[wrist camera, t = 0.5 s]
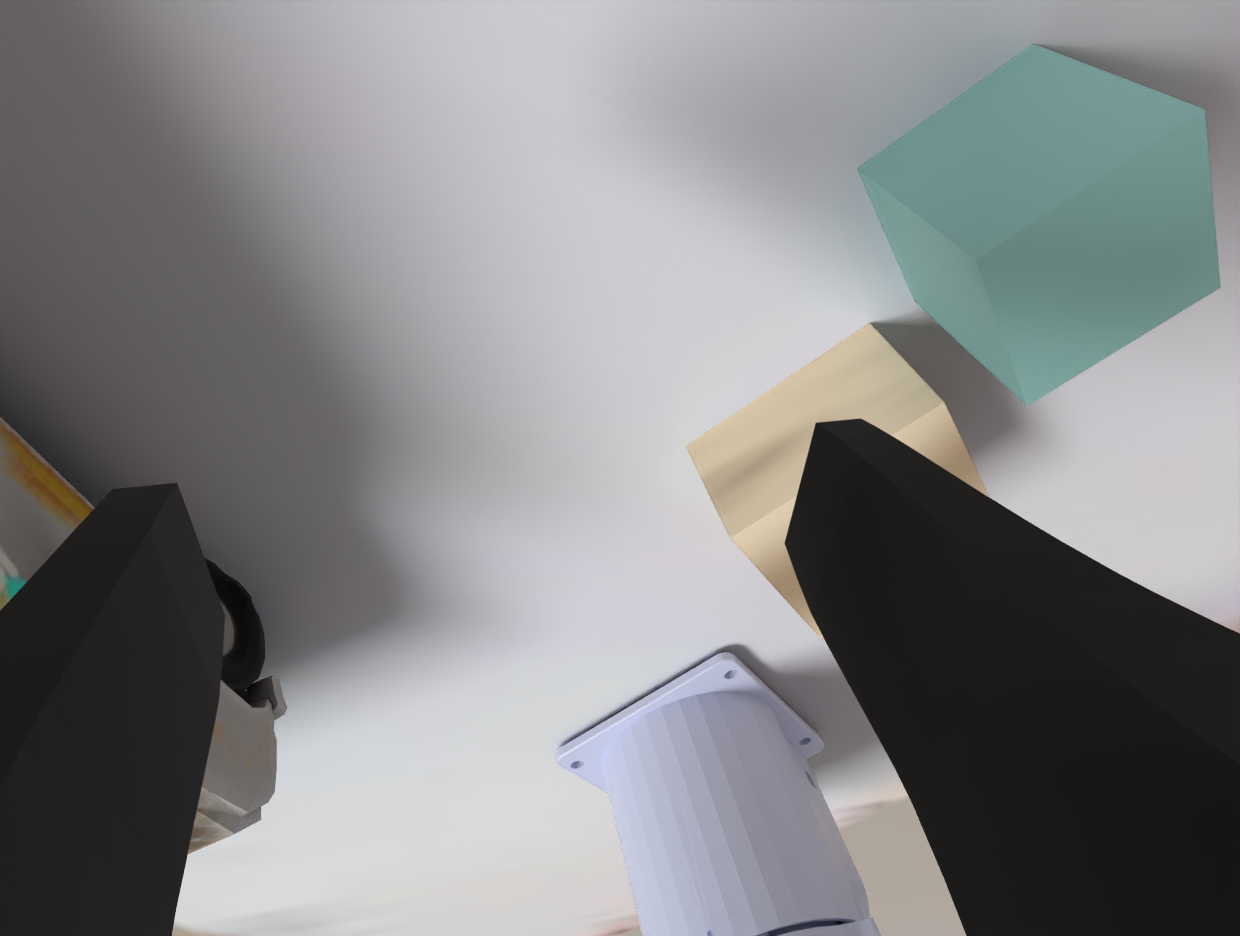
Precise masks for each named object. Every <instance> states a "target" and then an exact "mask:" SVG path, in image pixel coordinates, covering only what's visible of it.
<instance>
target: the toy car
mask: <svg viewBox="0 0 1240 936" xmlns="http://www.w3.org/2000/svg"><path fill="white" fill-rule="evenodd" d="M94 508H95V507H94V506H93V505H92V504H91V503H90V502H89V501H88V500H87V499H86V498H85V497H84V496H83V495H82V494H80V493H79V492H78V491H77V490H76V489H75V488H74V487H73V486H72V485H71V484H70V483H69V482H68V481H67V480H66V479H65V478H64V477H63V476H62V475H60V474H59V473H58V472H57V471H56V470H55V469H54V468H53V467H52V466H51V465H50V464H49V463H48V462H47V461H46V460H45V459H44V458H43V457H42V456H41V455H40V454H39V453H37V452H36V451H35V450H34V449H33V448H32V447H31V446H30V445H29V444H28V443H27V442H26V441H25V440H24V439H23V438H22V437H21V436H20V435H19V434H18V433H17V432H16V431H15V430H14V429H13V428H11V427H10V426H9V425H8V424H7V423H6V422H5V421H4V420H3V419H2V418H1V417H0V610H1V609H2V608H3V607H4V606H5V605H6V604H7V603H8V602H9V600H10V599H11V598H12V597H13V596H14V595H15V594H16V593H17V592H18V591H19V590H20V589H21V588H22V587H23V585H24V584H25V583H26V582H27V581H28V580H29V579H30V578H31V577H32V576H33V575H34V573H35V572H36V571H37V570H38V569H39V568H40V567H41V566H42V565H43V564H44V563H45V561H46V560H47V559H48V558H49V557H50V556H51V555H52V554H53V553H54V552H55V551H56V549H57V548H58V547H59V546H60V545H61V544H62V543H63V542H64V541H65V540H66V538H67V537H68V536H69V535H70V534H71V533H72V532H73V531H74V530H75V529H76V528H77V526H78V525H79V524H80V523H81V522H82V521H83V520H84V519H85V518H86V517H87V516H88V515H89V513H90V512H91V511H92V510H93V509H94ZM204 559H205V558H204ZM205 561H206V564H207V567H208V570H209V572H210V575H211V578H212V581H213V584H214V586H215V589H216V592H217V595H218V597H219V600H220V603H221V606H222V608H223V611H224V614H225V626H224V642H223V659H222V672H221V684H220V696H219V704H218V710H217V715H216V720H215V725H214V730H213V735H212V740H211V745H210V750H209V755H208V759H207V764H206V769H205V774H204V779H203V784H202V788H201V793H200V798H199V803H198V807H197V812H196V817H195V821H194V826H193V831H192V836H191V840H190V845H189V850H188V854H189V853H192V852H194V851H196V850H199V849H201V848H203V847H206V846H208V845H210V844H213V843H215V842H217V841H219V840H222V839H224V838H226V837H229V836H231V835H233V834H235V833H237V832H239V831H241V830H243V829H245V828H246V827H248V826H250V825H252V824H254V823H256V822H258V821H259V820H261V806H263V805H264V804H266V803H268V802H269V800H270V798H271V797H272V795H273V794H274V792H275V782H276V768H277V740H276V737H275V733H274V720H276V719H278V718H279V717H281V716H282V715H284V714H285V712H286V709H287V706H286V703H285V701H284V698H283V695H282V690H281V686H280V681H279V679H277V678H275V677H273V676H269V677H267V678H265V679H262V680H260V681H258V682H255V681H256V680H257V679H258V678H259V676H260V673H261V670H262V666H263V663H264V660H265V640H264V632H263V628H262V625H261V622H260V618H259V615H258V614H257V612H256V610H255V608H254V606H253V603H252V599H251V596H250V595H249V593H248V592H247V591H246V590H245V589H244V587H243V586H242V585H241V584H240V583H239V582H238V581H236V580H234V579H233V578H231V577H229V576H228V575H226V574H225V573H224V572H222V571H221V570H220V569H219V568H218V567H217V566H216V565H215V564H214V563H212V562H211V561H209V560H207V559H205ZM253 682H255V683H253ZM252 683H253V684H252ZM246 689H247V691H245V690H246Z"/></svg>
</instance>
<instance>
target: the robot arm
mask: <svg viewBox="0 0 1240 936" xmlns="http://www.w3.org/2000/svg"><path fill="white" fill-rule="evenodd" d="M785 546H786V549H787V552H788V555H789V557H790V560H791V563H792V566H793V569H794V571H795V574H796V577H797V580H798V582H799V585H800V587H801V590H802V592H803V595H804V597H805V600H806V602H807V605H808V607H809V610H810V613H811V614H812V616H813V618H814V620H815V622H816V624H817V626H818V628H819V630H820V632H821V634H822V635H823V637H824V639H825V641H826V643H827V645H828V647H829V649H830V650H831V652H832V654H833V656H834V658H835V660H836V662H837V663H838V665H839V667H840V669H841V671H842V673H843V674H844V676H845V678H846V680H847V682H848V684H849V685H850V687H851V689H852V691H853V693H854V694H855V696H856V698H857V700H858V702H859V704H860V705H861V707H862V709H863V711H864V713H865V714H866V716H867V718H868V720H869V722H870V724H871V725H872V727H873V729H874V731H875V733H876V734H877V736H878V738H879V740H880V742H881V744H882V745H883V747H884V749H885V751H886V753H887V754H888V756H889V758H890V760H891V762H892V764H893V765H894V767H895V769H896V771H897V773H898V775H899V777H900V779H901V781H902V783H903V786H904V788H905V790H906V792H907V794H908V796H909V798H910V800H911V802H912V804H913V806H914V809H915V811H916V813H917V816H918V818H919V820H920V823H921V825H922V827H923V830H924V832H925V835H926V837H927V839H928V842H929V844H930V846H931V849H932V851H933V853H934V856H935V858H936V860H937V863H938V865H939V867H940V870H941V872H942V874H943V876H944V879H945V882H946V884H947V887H948V890H949V892H950V895H951V897H952V900H953V902H954V905H955V907H956V910H957V912H958V915H959V918H960V920H961V922H962V925H963V928H964V930H965V933H966V935H967V936H1240V633H1237V632H1235V631H1233V630H1231V629H1228V628H1226V627H1224V626H1222V625H1220V624H1218V623H1216V622H1214V621H1212V620H1210V619H1208V618H1206V617H1203V616H1201V615H1199V614H1197V613H1195V612H1193V611H1191V610H1189V609H1187V608H1185V607H1183V606H1181V605H1179V604H1177V603H1175V602H1173V601H1171V600H1169V599H1167V598H1165V597H1163V596H1161V595H1159V594H1156V593H1154V592H1152V591H1150V590H1149V589H1147V588H1145V587H1143V586H1141V585H1139V584H1137V583H1135V582H1133V581H1131V580H1130V579H1128V578H1126V577H1124V576H1122V575H1120V574H1118V573H1116V572H1115V571H1113V570H1111V569H1109V568H1107V567H1106V566H1104V565H1102V564H1100V563H1099V562H1097V561H1095V560H1093V559H1092V558H1090V557H1088V556H1086V555H1084V554H1083V553H1081V552H1079V551H1077V550H1076V549H1074V548H1072V547H1070V546H1069V545H1067V544H1065V543H1063V542H1061V541H1060V540H1058V539H1056V538H1055V537H1053V536H1051V535H1050V534H1048V533H1046V532H1045V531H1043V530H1041V529H1040V528H1038V527H1036V526H1035V525H1033V524H1031V523H1030V522H1028V521H1026V520H1025V519H1023V518H1021V517H1020V516H1018V515H1017V514H1015V513H1013V512H1012V511H1010V510H1008V509H1007V508H1005V507H1004V506H1002V505H1000V504H999V503H997V502H996V501H994V500H992V499H991V498H989V497H988V496H986V495H984V494H983V493H981V492H980V491H978V490H977V489H975V488H973V487H972V486H970V485H969V484H967V483H966V482H964V481H962V480H961V479H959V478H958V477H956V476H955V475H953V474H952V473H950V472H948V471H947V470H945V469H944V468H942V467H941V466H939V465H937V464H936V463H934V462H933V461H931V460H930V459H928V458H927V457H925V456H923V455H922V454H920V453H919V452H917V451H916V450H914V449H912V448H911V447H909V446H908V445H906V444H904V443H903V442H901V441H900V440H898V439H896V438H895V437H893V436H891V435H890V434H888V433H886V432H885V431H883V430H881V429H879V428H878V427H876V426H874V425H872V424H871V423H869V422H867V421H865V420H863V419H861V418H859V419H849V420H838V421H828V422H817V423H816V424H815V428H814V431H813V435H812V439H811V443H810V447H809V451H808V455H807V458H806V462H805V466H804V470H803V474H802V478H801V482H800V485H799V489H798V493H797V497H796V501H795V505H794V509H793V512H792V516H791V520H790V524H789V528H788V532H787V536H786V539H785ZM224 626H225V614H224V611H223V608H222V606H221V603H220V600H219V597H218V595H217V592H216V589H215V586H214V584H213V581H212V578H211V575H210V572H209V570H208V567H207V564H206V561H205V559H204V556H203V553H202V550H201V548H200V545H199V542H198V539H197V537H196V534H195V531H194V528H193V526H192V523H191V520H190V517H189V515H188V512H187V509H186V506H185V504H184V501H183V498H182V495H181V493H180V490H179V487H178V484H177V483H174V484H163V485H152V486H142V487H131V488H121V489H112V490H111V491H110V492H109V493H108V494H107V495H106V496H105V497H104V499H103V500H102V501H101V502H100V503H99V504H98V505H97V506H96V507H95V508H94V509H93V510H92V511H91V512H90V513H89V515H88V516H87V517H86V518H85V519H84V520H83V521H82V522H81V523H80V524H79V525H78V526H77V528H76V529H75V530H74V531H73V532H72V533H71V534H70V535H69V536H68V537H67V538H66V540H65V541H64V542H63V543H62V544H61V545H60V546H59V547H58V548H57V549H56V551H55V552H54V553H53V554H52V555H51V556H50V557H49V558H48V559H47V560H46V561H45V563H44V564H43V565H42V566H41V567H40V568H39V569H38V570H37V571H36V572H35V573H34V575H33V576H32V577H31V578H30V579H29V580H28V581H27V582H26V583H25V584H24V585H23V587H22V588H21V589H20V590H19V591H18V592H17V593H16V594H15V595H14V596H13V597H12V598H11V599H10V600H9V602H8V603H7V604H6V605H5V606H4V607H3V608H2V609H1V610H0V936H172V930H173V924H174V918H175V912H176V907H177V902H178V897H179V893H180V888H181V883H182V878H183V874H184V869H185V864H186V859H187V855H188V850H189V845H190V840H191V836H192V831H193V826H194V821H195V817H196V812H197V807H198V803H199V798H200V793H201V788H202V784H203V779H204V774H205V769H206V764H207V759H208V755H209V750H210V745H211V740H212V735H213V730H214V725H215V720H216V715H217V710H218V704H219V696H220V684H221V672H222V659H223V642H224ZM824 746H825V745H824V743H823V740H822V738H821V737H820V736H819V735H818V734H817V733H816V732H815V731H814V730H813V729H812V728H811V727H810V726H809V725H808V724H807V723H805V722H804V721H803V720H802V719H801V718H800V717H799V716H798V715H797V714H796V713H795V712H794V711H793V710H792V709H791V708H790V707H789V706H788V705H786V704H785V703H784V702H783V701H782V700H781V699H780V698H779V697H778V696H777V695H776V694H775V693H774V692H773V691H772V690H771V689H770V688H768V687H767V686H766V685H765V684H764V683H763V682H762V681H761V680H760V679H759V678H758V677H757V676H756V675H755V674H754V673H753V672H752V671H751V670H749V669H748V668H747V667H746V666H745V665H744V664H743V663H742V662H741V661H740V660H739V659H738V658H737V657H736V656H735V655H734V654H732V653H729V652H723V653H719V654H717V655H715V656H713V657H712V658H710V659H708V660H707V661H705V662H703V663H702V664H700V665H698V666H697V667H695V668H693V669H692V670H690V671H688V672H686V673H685V674H683V675H681V676H680V677H678V678H676V679H675V680H673V681H671V682H670V683H668V684H666V685H665V686H663V687H661V688H660V689H658V690H656V691H654V692H653V693H651V694H649V695H648V696H646V697H644V698H643V699H641V700H639V701H638V702H636V703H634V704H633V705H631V706H629V707H628V708H626V709H624V710H623V711H621V712H619V713H617V714H616V715H614V716H612V717H611V718H609V719H607V720H606V721H604V722H602V723H601V724H599V725H597V726H596V727H594V728H592V729H591V730H589V731H587V732H586V733H584V734H582V735H580V736H579V737H577V738H575V739H574V740H572V741H570V742H569V743H567V744H565V745H564V746H562V747H560V748H559V749H558V750H557V752H556V753H555V756H556V761H557V764H558V765H559V766H561V767H563V768H564V769H566V770H568V771H570V772H571V773H573V774H575V775H577V776H578V777H580V778H582V779H584V780H585V781H587V782H589V783H591V784H592V785H594V786H596V787H597V788H599V789H601V790H603V791H604V792H606V793H608V796H609V800H610V804H611V808H612V812H613V816H614V821H615V825H616V829H617V833H618V837H619V841H620V845H621V850H622V854H623V858H624V862H625V866H626V870H627V874H628V879H629V883H630V887H631V891H632V895H633V899H634V903H635V908H636V912H637V916H638V920H639V924H640V928H641V932H642V936H881V935H880V933H879V931H878V928H877V926H876V924H875V922H874V919H873V918H871V917H870V915H869V905H868V900H867V895H866V891H865V888H864V885H863V883H862V880H861V878H860V876H859V873H858V871H857V869H856V867H855V865H854V863H853V860H852V858H851V856H850V854H849V851H848V849H847V847H846V845H845V843H844V841H843V838H842V836H841V834H840V832H839V829H838V827H837V825H836V823H835V821H834V818H833V816H832V814H831V812H830V810H829V807H828V805H827V803H826V801H825V799H824V797H823V794H822V792H821V790H820V788H819V786H818V783H817V781H816V779H815V777H814V775H813V772H812V770H811V768H810V766H809V764H808V761H807V759H809V758H810V757H812V756H814V755H816V754H818V753H819V752H821V751H822V750H823V748H824Z"/></svg>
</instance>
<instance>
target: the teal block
mask: <svg viewBox="0 0 1240 936" xmlns="http://www.w3.org/2000/svg"><path fill="white" fill-rule="evenodd" d="M857 170H858V172H859V174H860V177H861V179H862V181H863V183H864V186H865V188H866V190H867V193H868V195H869V197H870V200H871V202H872V204H873V206H874V209H875V211H876V213H877V216H878V218H879V220H880V223H881V225H882V227H883V229H884V232H885V234H886V236H887V239H888V241H889V243H890V246H891V248H892V250H893V252H894V255H895V257H896V259H897V262H898V264H899V266H900V269H901V271H902V273H903V275H904V278H905V280H906V282H907V285H908V287H909V289H910V292H911V294H912V296H913V298H914V301H915V302H916V303H917V304H918V305H919V306H920V307H921V308H922V309H923V310H924V311H925V312H926V313H927V314H929V315H930V316H931V317H932V318H933V319H934V320H935V321H936V322H937V323H938V324H939V325H940V326H941V327H942V328H944V329H945V330H946V331H947V332H948V333H949V334H950V335H951V336H952V337H953V338H954V339H955V340H956V341H957V342H959V343H960V344H961V345H962V346H963V347H964V348H965V349H966V350H967V351H968V352H969V353H970V354H971V355H973V356H974V357H975V358H976V359H977V360H978V361H979V362H980V363H981V364H982V365H983V366H984V367H985V368H986V369H988V370H989V371H990V372H991V373H992V374H993V375H994V376H995V377H996V378H997V379H998V380H999V381H1000V382H1002V383H1003V384H1004V385H1005V386H1006V387H1007V388H1008V389H1009V390H1010V391H1011V392H1012V393H1013V394H1014V395H1015V396H1017V397H1018V398H1019V399H1020V400H1021V401H1022V402H1023V403H1024V404H1025V405H1026V406H1028V405H1029V404H1031V403H1033V402H1034V401H1036V400H1037V399H1039V398H1041V397H1042V396H1044V395H1046V394H1047V393H1049V392H1051V391H1052V390H1054V389H1055V388H1057V387H1059V386H1060V385H1062V384H1064V383H1065V382H1067V381H1068V380H1070V379H1072V378H1073V377H1075V376H1077V375H1078V374H1080V373H1082V372H1083V371H1085V370H1086V369H1088V368H1090V367H1091V366H1093V365H1095V364H1096V363H1098V362H1099V361H1101V360H1103V359H1104V358H1106V357H1108V356H1109V355H1111V354H1113V353H1114V352H1116V351H1117V350H1119V349H1121V348H1122V347H1124V346H1126V345H1127V344H1129V343H1131V342H1132V341H1134V340H1135V339H1137V338H1139V337H1140V336H1142V335H1144V334H1145V333H1147V332H1148V331H1150V330H1152V329H1153V328H1155V327H1157V326H1158V325H1160V324H1162V323H1163V322H1165V321H1166V320H1168V319H1170V318H1171V317H1173V316H1175V315H1176V314H1178V313H1179V312H1181V311H1183V310H1184V309H1186V308H1188V307H1189V306H1191V305H1193V304H1194V303H1196V302H1197V301H1199V300H1201V299H1202V298H1204V297H1206V296H1207V295H1209V294H1210V293H1212V292H1214V291H1215V290H1217V289H1219V288H1220V277H1219V265H1218V254H1217V242H1216V231H1215V220H1214V208H1213V197H1212V186H1211V174H1210V163H1209V152H1208V140H1207V129H1206V117H1205V109H1203V108H1201V107H1198V106H1196V105H1193V104H1190V103H1188V102H1185V101H1182V100H1180V99H1177V98H1175V97H1172V96H1169V95H1167V94H1164V93H1161V92H1159V91H1156V90H1154V89H1151V88H1148V87H1146V86H1143V85H1140V84H1138V83H1135V82H1133V81H1130V80H1127V79H1125V78H1122V77H1119V76H1117V75H1114V74H1112V73H1109V72H1106V71H1104V70H1101V69H1099V68H1096V67H1093V66H1091V65H1088V64H1085V63H1083V62H1080V61H1078V60H1075V59H1072V58H1070V57H1067V56H1064V55H1062V54H1059V53H1057V52H1054V51H1051V50H1049V49H1046V48H1043V47H1041V46H1038V45H1036V44H1032V45H1031V46H1030V47H1028V48H1027V49H1025V50H1024V51H1023V52H1021V53H1020V54H1018V55H1017V56H1015V57H1014V58H1013V59H1011V60H1010V61H1008V62H1007V63H1006V64H1004V65H1003V66H1001V67H1000V68H999V69H997V70H996V71H994V72H993V73H991V74H990V75H989V76H987V77H986V78H984V79H983V80H982V81H980V82H979V83H977V84H976V85H974V86H973V87H972V88H970V89H969V90H967V91H966V92H965V93H963V94H962V95H960V96H959V97H958V98H956V99H955V100H953V101H952V102H950V103H949V104H948V105H946V106H945V107H943V108H942V109H941V110H939V111H938V112H936V113H935V114H933V115H932V116H931V117H929V118H928V119H926V120H925V121H924V122H922V123H921V124H919V125H918V126H917V127H915V128H914V129H912V130H911V131H909V132H908V133H907V134H905V135H904V136H902V137H901V138H900V139H898V140H897V141H895V142H894V143H892V144H891V145H890V146H888V147H887V148H885V149H884V150H883V151H881V152H880V153H878V154H877V155H876V156H874V157H873V158H871V159H870V160H868V161H867V162H866V163H864V164H863V165H861V166H860V167H859V168H857Z"/></svg>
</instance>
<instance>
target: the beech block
mask: <svg viewBox="0 0 1240 936" xmlns="http://www.w3.org/2000/svg"><path fill="white" fill-rule="evenodd" d="M859 418H861V419H863V420H865V421H867V422H869V423H871V424H872V425H874V426H876V427H878V428H879V429H881V430H883V431H885V432H886V433H888V434H890V435H891V436H893V437H895V438H896V439H898V440H900V441H901V442H903V443H904V444H906V445H908V446H909V447H911V448H912V449H914V450H916V451H917V452H919V453H920V454H922V455H923V456H925V457H927V458H928V459H930V460H931V461H933V462H934V463H936V464H937V465H939V466H941V467H942V468H944V469H945V470H947V471H948V472H950V473H952V474H953V475H955V476H956V477H958V478H959V479H961V480H962V481H964V482H966V483H967V484H969V485H970V486H972V487H973V488H975V489H977V490H978V491H980V492H981V493H983V494H984V495H986V496H988V497H989V495H988V493H987V491H986V489H985V487H984V485H983V483H982V481H981V479H980V477H979V474H978V472H977V470H976V468H975V466H974V464H973V462H972V460H971V458H970V455H969V453H968V451H967V449H966V447H965V445H964V443H963V441H962V439H961V436H960V434H959V432H958V430H957V428H956V426H955V424H954V422H953V420H952V417H951V415H950V413H949V411H948V409H947V407H946V405H945V403H944V401H943V400H942V399H941V398H940V397H939V396H938V395H937V394H936V393H935V392H934V391H933V390H932V389H931V388H930V387H929V385H928V384H927V383H926V382H925V381H924V380H923V379H922V378H921V377H920V376H919V375H918V374H917V373H916V372H915V371H914V370H913V368H912V367H911V366H910V365H909V364H908V363H907V362H906V361H905V360H904V359H903V358H902V357H901V356H900V355H899V354H898V353H897V351H896V350H895V349H894V348H893V347H892V346H891V345H890V344H889V343H888V342H887V341H886V340H885V339H884V338H883V337H882V336H881V334H880V333H879V332H878V331H877V330H876V329H875V328H874V327H873V326H872V325H871V324H870V323H868V324H867V325H865V326H864V327H862V328H861V329H859V330H858V331H856V332H855V333H853V334H852V335H850V336H849V337H847V338H846V339H844V340H843V341H842V342H840V343H839V344H837V345H836V346H834V347H833V348H831V349H830V350H828V351H827V352H825V353H824V354H822V355H821V356H819V357H818V358H816V359H815V360H813V361H812V362H810V363H809V364H807V365H806V366H804V367H803V368H801V369H800V370H798V371H797V372H795V373H794V374H792V375H791V376H790V377H788V378H787V379H785V380H784V381H782V382H781V383H779V384H778V385H776V386H775V387H773V388H772V389H770V390H769V391H767V392H766V393H764V394H763V395H761V396H760V397H758V398H757V399H755V400H754V401H752V402H751V403H749V404H748V405H746V406H745V407H743V408H742V409H740V410H739V411H738V412H736V413H735V414H733V415H732V416H730V417H729V418H727V419H726V420H724V421H723V422H721V423H720V424H718V425H717V426H715V427H714V428H712V429H711V430H709V431H708V432H706V433H705V434H703V435H702V436H700V437H699V438H697V439H696V440H694V441H693V442H691V443H690V444H688V445H687V446H686V448H687V450H688V452H689V455H690V457H691V459H692V461H693V463H694V465H695V467H696V469H697V471H698V473H699V475H700V477H701V479H702V481H703V483H704V486H705V488H706V490H707V492H708V494H709V496H710V498H711V500H712V502H713V504H714V506H715V508H716V510H717V512H718V514H719V517H720V519H721V521H722V523H723V525H724V527H725V529H726V531H727V533H728V535H729V537H730V539H731V540H732V541H733V542H734V543H735V544H736V545H737V547H738V548H739V549H740V550H741V551H742V552H743V553H744V554H745V555H746V557H747V558H748V559H749V560H750V561H751V562H752V563H753V564H754V565H755V566H756V568H757V569H758V570H759V571H760V572H761V573H762V574H763V575H764V576H765V578H766V579H767V580H768V581H769V582H770V583H771V584H772V585H773V586H774V588H775V589H776V590H777V591H778V592H779V593H780V594H781V595H782V596H783V597H784V599H785V600H786V601H787V602H788V603H789V604H790V605H791V606H792V607H793V609H794V610H795V611H796V612H797V613H798V614H799V615H800V616H801V617H802V619H803V620H804V621H805V622H806V623H807V624H808V625H809V626H810V627H811V628H812V630H813V631H814V632H815V633H816V634H817V635H818V636H819V637H820V638H821V640H823V639H824V637H823V635H822V634H821V632H820V630H819V628H818V626H817V624H816V622H815V620H814V618H813V616H812V614H811V613H810V610H809V607H808V605H807V602H806V600H805V597H804V595H803V592H802V590H801V587H800V585H799V582H798V580H797V577H796V574H795V571H794V569H793V566H792V563H791V560H790V557H789V555H788V552H787V549H786V546H785V539H786V536H787V532H788V528H789V524H790V520H791V516H792V512H793V509H794V505H795V501H796V497H797V493H798V489H799V485H800V482H801V478H802V474H803V470H804V466H805V462H806V458H807V455H808V451H809V447H810V443H811V439H812V435H813V431H814V428H815V424H816V423H817V422H828V421H838V420H849V419H859Z"/></svg>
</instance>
